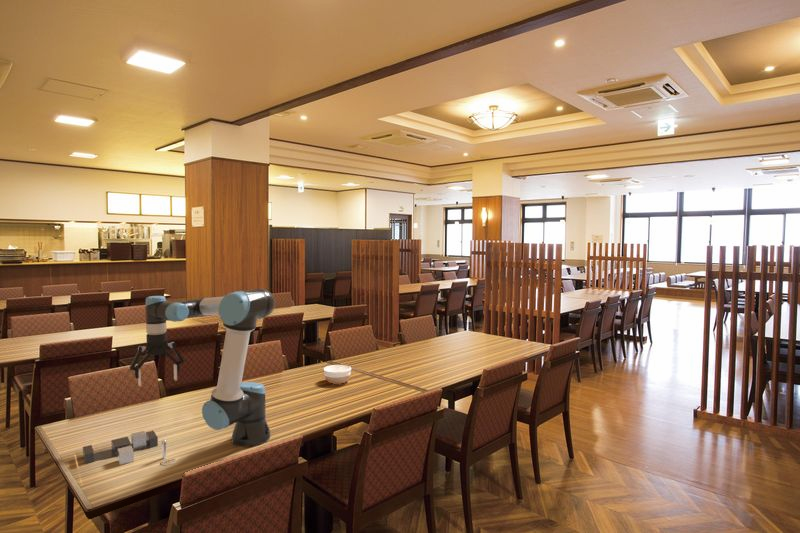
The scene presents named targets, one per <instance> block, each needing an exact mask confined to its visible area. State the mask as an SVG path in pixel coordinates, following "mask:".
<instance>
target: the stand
mask: <svg viewBox="0 0 800 533" xmlns="http://www.w3.org/2000/svg"><path fill="white" fill-rule="evenodd" d="M161 459H162V460H165V459H167V441H166V439H162V440H161ZM175 462H176V458H174V459H173V458H172V459H170V460H169V459H168V460H166V461H162V462H160V463H159V464H160V465H162V466H169V465H173V464H174V463H175Z"/></svg>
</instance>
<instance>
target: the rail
mask: <svg viewBox="0 0 800 533" xmlns="http://www.w3.org/2000/svg"><path fill="white" fill-rule="evenodd" d="M145 434H146V447H144V448H140V449H136V450H133V452H138V451H143V450H146V449H150V448H151V449H152V448H155V447H158V444H159V441H158V439H159V438H158V437H159V436H157V434H156V432H155V431H154V430H150V431H145ZM110 442H111V449H107V450H106V449H105V450H102V451H98V452H94V449H93V446H92V444H90V445H85V446H82V457H83V461H84V465H87V464H92V463H95V462H98V461H103V460H107V459H110V458H115V457H118V450H117V449H119V448H123V447H127V446H131V440H130V439H129V437H128V436H123V437H119V438H116V439H112V440H110Z"/></svg>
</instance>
